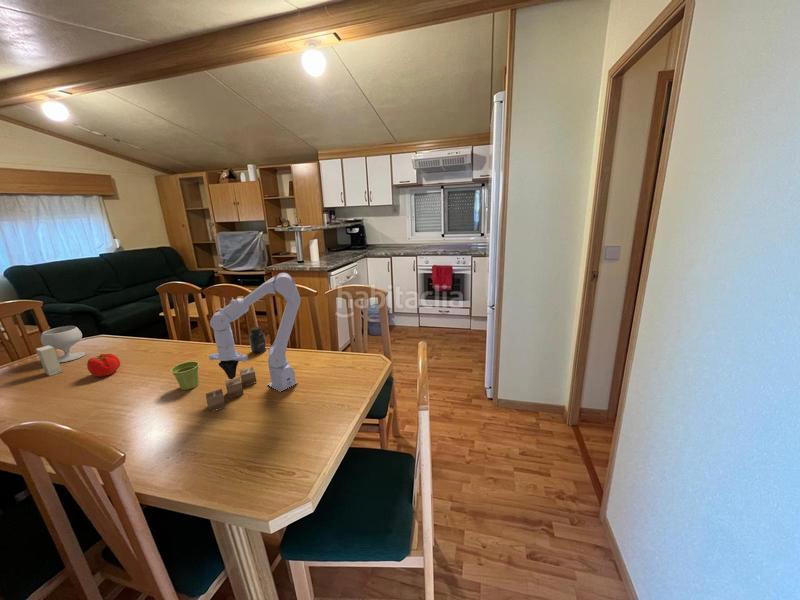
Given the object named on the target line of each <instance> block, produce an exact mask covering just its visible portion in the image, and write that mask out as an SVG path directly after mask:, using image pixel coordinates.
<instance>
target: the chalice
mask: <svg viewBox="0 0 800 600" xmlns="http://www.w3.org/2000/svg"><path fill="white" fill-rule="evenodd" d="M82 337H83V333H82V331H81V330H80V329H79V328H78V327H77V326H75V325H65V326H59V327H55V328H51V329H47V330H46V331H43V332H42V333H41V335H40V343H41V344H42V347H44V346H48V345H50V346H52V347H53V348H54V350H60V351H63V353H64V354H63V355H61V356H57V358H58V361H59V363H60V364H61V363H66V362H71V361H75V360H77V359H80V358H82V357H83V356H85V355H86V352H84V351H77V352H75V351H74V352H71V351H70V350H71V348H72V347H73V346H74V345H76V344H77V343H79V342H80V341H81V339H82Z"/></svg>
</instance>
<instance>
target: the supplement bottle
mask: <svg viewBox="0 0 800 600" xmlns="http://www.w3.org/2000/svg"><path fill="white" fill-rule="evenodd" d="M262 331H263V330H262V327H260V326H255V327H251V328H250V331H249V332H250V334H249V336H248V338H249V344H250V349H251V350H250V351H251V353H252V354H254V353H255V355H257V354H256V353H259V354H262V353H261V352H263V353H265V352H266V351H267V345H266V338H265V336H266V335H265V333H264V332H262ZM265 347H266V348H265ZM264 351H265V352H264Z"/></svg>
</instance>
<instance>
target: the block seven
mask: <svg viewBox="0 0 800 600" xmlns="http://www.w3.org/2000/svg"><path fill="white" fill-rule="evenodd" d="M239 374H240V375H239V376H240V380H241V384H242V387H246V386H245V385H247V384H250V385H252V384H251V383H254V382H257V377H256V371H255V369H254V367H253V366H250V367H247V368H243V369H240V370H239ZM254 384H255V383H254ZM247 386H248V385H247Z"/></svg>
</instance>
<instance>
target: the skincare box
mask: <svg viewBox="0 0 800 600" xmlns="http://www.w3.org/2000/svg"><path fill="white" fill-rule="evenodd" d="M35 351H36V354H37V355H38V358H39V360H40V362H41V365H42V368H43V370H44V373H45V374H46V375H47V376H53V375H54V376H55V375H57V374H60V373H63V369H62V366H61V363H59V361H58V358H57V357H58V355H57V353H56V349H54V348H53V347H52V346H50V345H48V346H41V347H37V348H35Z"/></svg>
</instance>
